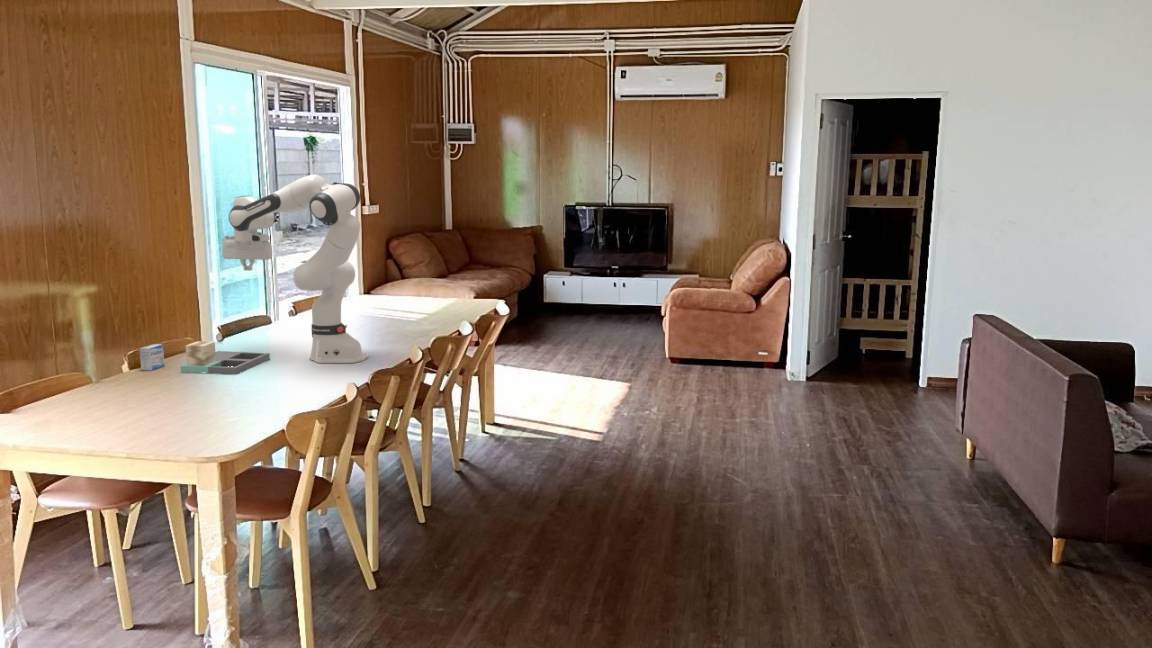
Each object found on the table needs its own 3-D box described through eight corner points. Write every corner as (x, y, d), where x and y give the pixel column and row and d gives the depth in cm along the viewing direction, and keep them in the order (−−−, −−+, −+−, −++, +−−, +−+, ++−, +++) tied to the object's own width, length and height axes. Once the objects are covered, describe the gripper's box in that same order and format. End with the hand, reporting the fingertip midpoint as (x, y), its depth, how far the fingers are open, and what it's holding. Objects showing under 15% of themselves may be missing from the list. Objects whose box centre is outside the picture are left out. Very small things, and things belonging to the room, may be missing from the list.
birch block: (216, 361, 338) (214, 341, 337) (204, 365, 331) (203, 346, 329) (199, 360, 339) (197, 341, 338) (187, 365, 332) (185, 345, 330)
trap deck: (269, 359, 353) (269, 353, 353) (235, 374, 328) (235, 368, 328) (218, 357, 356) (218, 351, 356) (181, 372, 331) (180, 365, 331)
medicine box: (151, 371, 333) (149, 348, 331) (140, 370, 334) (139, 347, 332) (165, 366, 340) (163, 344, 339) (154, 365, 341) (152, 343, 340)
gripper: (217, 236, 355) (220, 270, 358) (265, 237, 353) (267, 271, 355) (226, 235, 362) (228, 268, 364) (273, 236, 359) (275, 270, 361)
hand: (248, 270), depth 360 cm, fingers closed
